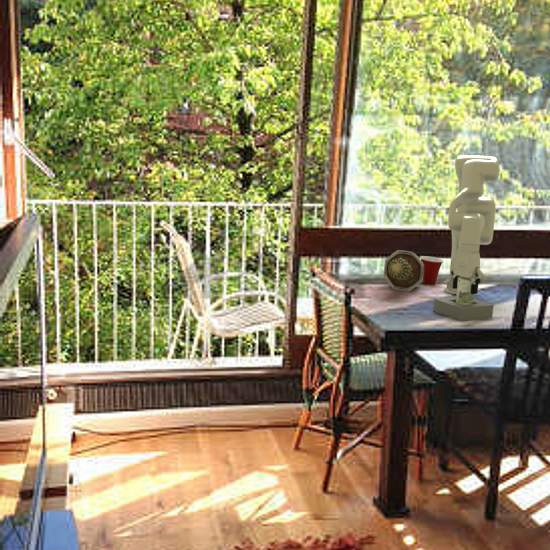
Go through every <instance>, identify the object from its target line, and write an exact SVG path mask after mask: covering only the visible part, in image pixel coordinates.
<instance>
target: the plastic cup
mask: <svg viewBox="0 0 550 550" xmlns="http://www.w3.org/2000/svg"><path fill="white" fill-rule="evenodd" d="M419 259H420V260H421V261H422V262H423V264H424V273H423V281H422V283H423V284H425V285H433V286H434V285H436V283H437V279H438V276H439V273H440V269H441V266H442V264H443V262H444V259H442V258H439V257H435V256H426V255H425V256H424V255H420V257H419Z"/></svg>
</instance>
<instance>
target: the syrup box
mask: <svg viewBox="0 0 550 550" xmlns="http://www.w3.org/2000/svg"><path fill="white" fill-rule="evenodd" d="M471 284H473V283H472V281H471V278H470V279H468V278H464V277H458V283H457V293H456V295H455V296H456V303H459V304H462V305H469V304H472V303H473V299H474V294H471V293H470V292H471Z"/></svg>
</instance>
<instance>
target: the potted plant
mask: <svg viewBox="0 0 550 550" xmlns="http://www.w3.org/2000/svg"><path fill="white" fill-rule="evenodd" d="M383 267H384V268H383V278H384V280H385V281H386V282H387V283H388V285H389V286H390V287H391V288H392V289H393V290H396V291H402V290H403V292H411V291H413V290H414V289H415V288H416V287H418V286H419V285H420V284H421V283H423V273H424V264H423V262H422V261H421V258H420V257H419V256H417V254H416V253H414V252H413V251H408V250H400V249H398V250H396V251H394V252H393V253H391V255H389V256H388V257H386V258H385V260H384V265H383Z"/></svg>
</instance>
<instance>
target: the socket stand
mask: <svg viewBox="0 0 550 550" xmlns="http://www.w3.org/2000/svg"><path fill="white" fill-rule="evenodd" d="M433 300H434V301H433V309H432V311H433V312H434V311H435V313H438V314H440V315H443V316H446V317H449V318H452V319H454V320H457V321H460V322H468V321H474V320H483V319H488V318H490V319H491V318H493V316H494V315H493V314H494V304H491V303H489V302H486V301H483V300H480V299H477V298H473V303H472V304H469V305H462V304H459V303H456V295H455V296H450V297H449V296H448V297H438V298H434V299H433Z"/></svg>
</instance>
